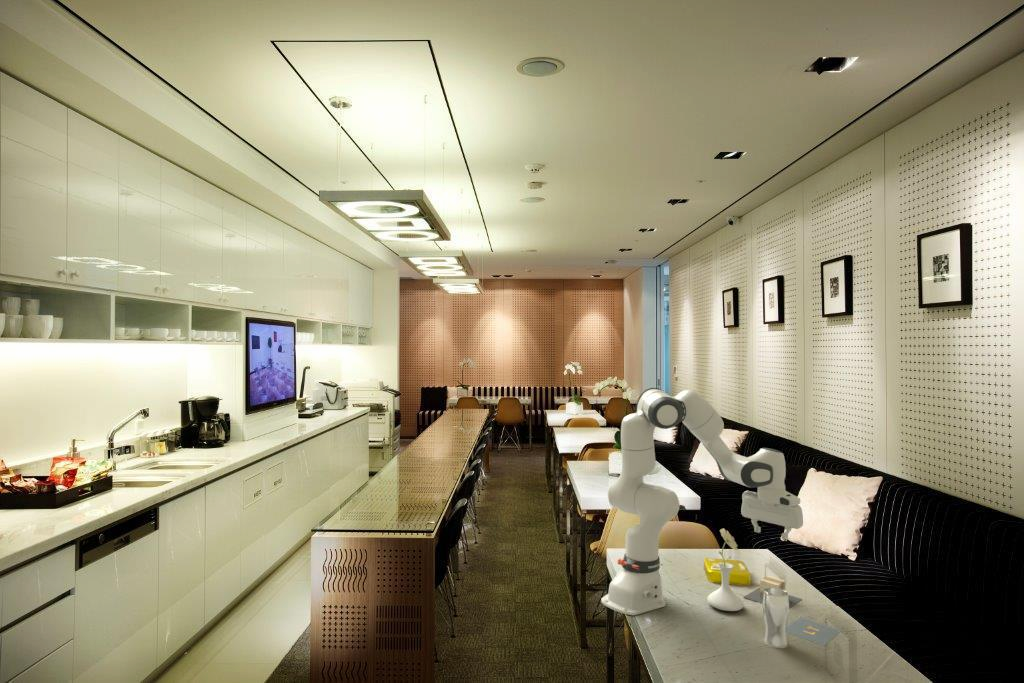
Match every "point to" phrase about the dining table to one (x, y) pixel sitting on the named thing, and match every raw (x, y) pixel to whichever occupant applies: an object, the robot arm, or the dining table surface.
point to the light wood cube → (770, 584)
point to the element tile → (737, 574)
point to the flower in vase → (725, 582)
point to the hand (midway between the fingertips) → (770, 535)
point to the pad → (756, 598)
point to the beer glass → (775, 616)
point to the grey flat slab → (812, 631)
